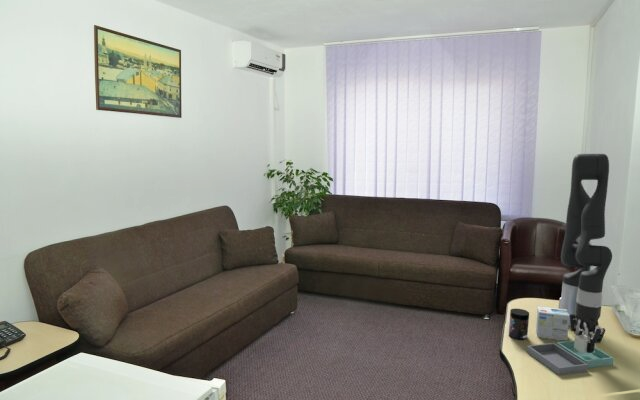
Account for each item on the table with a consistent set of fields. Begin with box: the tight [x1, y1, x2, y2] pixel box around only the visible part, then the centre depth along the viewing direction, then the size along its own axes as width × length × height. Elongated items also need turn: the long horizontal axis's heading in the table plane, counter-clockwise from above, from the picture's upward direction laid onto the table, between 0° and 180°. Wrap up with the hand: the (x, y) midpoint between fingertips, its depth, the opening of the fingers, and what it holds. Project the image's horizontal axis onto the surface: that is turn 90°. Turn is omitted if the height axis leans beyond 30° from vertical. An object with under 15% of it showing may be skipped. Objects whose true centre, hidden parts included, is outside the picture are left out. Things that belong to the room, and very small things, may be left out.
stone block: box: [573, 334, 596, 354], centre depth 164 cm, size 4×4×4 cm
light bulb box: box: [535, 305, 569, 342], centre depth 180 cm, size 11×7×11 cm, turn 71°
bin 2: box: [555, 340, 615, 369], centre depth 164 cm, size 14×11×3 cm
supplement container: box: [508, 308, 530, 341], centre depth 179 cm, size 7×7×10 cm
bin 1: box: [526, 342, 589, 376], centre depth 161 cm, size 16×11×3 cm
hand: (584, 348), depth 164 cm, fingers closed on stone block, 4 cm apart
